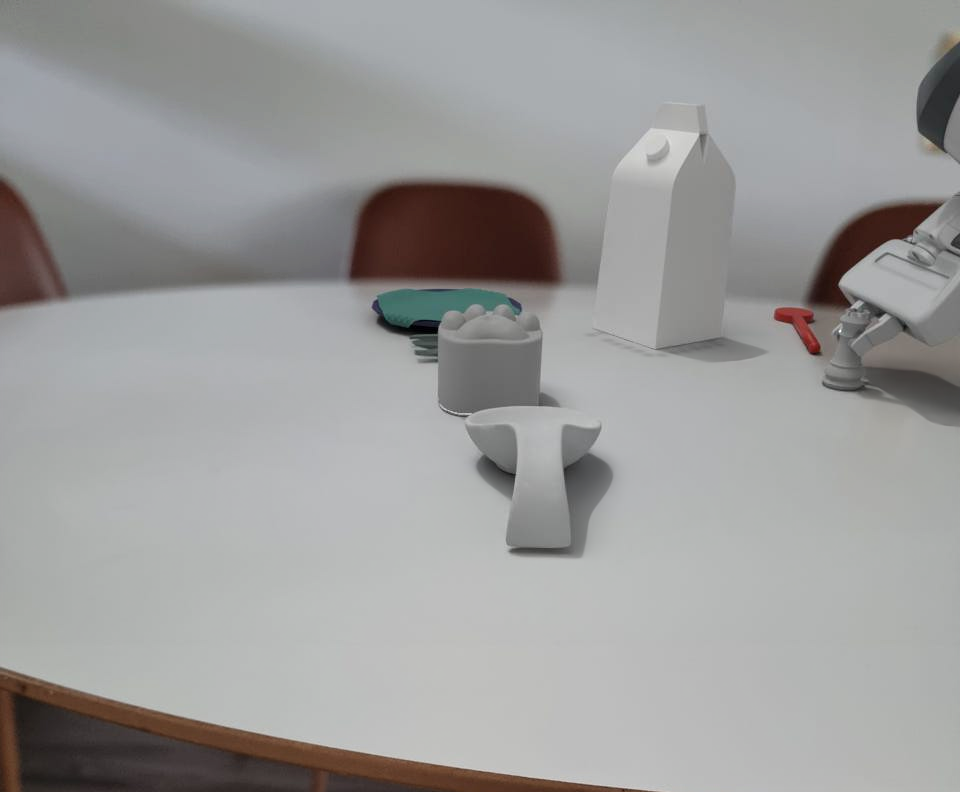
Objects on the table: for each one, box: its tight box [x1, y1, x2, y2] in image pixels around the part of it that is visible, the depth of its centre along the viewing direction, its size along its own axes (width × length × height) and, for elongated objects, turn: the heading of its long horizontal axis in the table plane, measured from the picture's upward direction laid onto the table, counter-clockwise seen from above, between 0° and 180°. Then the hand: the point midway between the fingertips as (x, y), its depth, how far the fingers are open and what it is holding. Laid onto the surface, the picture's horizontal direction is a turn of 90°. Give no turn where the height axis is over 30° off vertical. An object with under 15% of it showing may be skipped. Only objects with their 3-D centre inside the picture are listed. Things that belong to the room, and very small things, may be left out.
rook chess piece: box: [821, 307, 873, 391], centre depth 106 cm, size 4×4×8 cm
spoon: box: [773, 306, 822, 355], centre depth 127 cm, size 21×5×1 cm, turn 172°
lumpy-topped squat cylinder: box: [437, 304, 544, 417], centre depth 99 cm, size 10×13×9 cm
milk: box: [591, 101, 737, 350], centre depth 119 cm, size 12×12×26 cm
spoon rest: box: [464, 405, 603, 549], centre depth 79 cm, size 24×12×7 cm, turn 0°
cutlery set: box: [371, 287, 523, 357], centre depth 125 cm, size 20×30×2 cm, turn 10°
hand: (844, 345), depth 105 cm, fingers closed on rook chess piece, 3 cm apart
